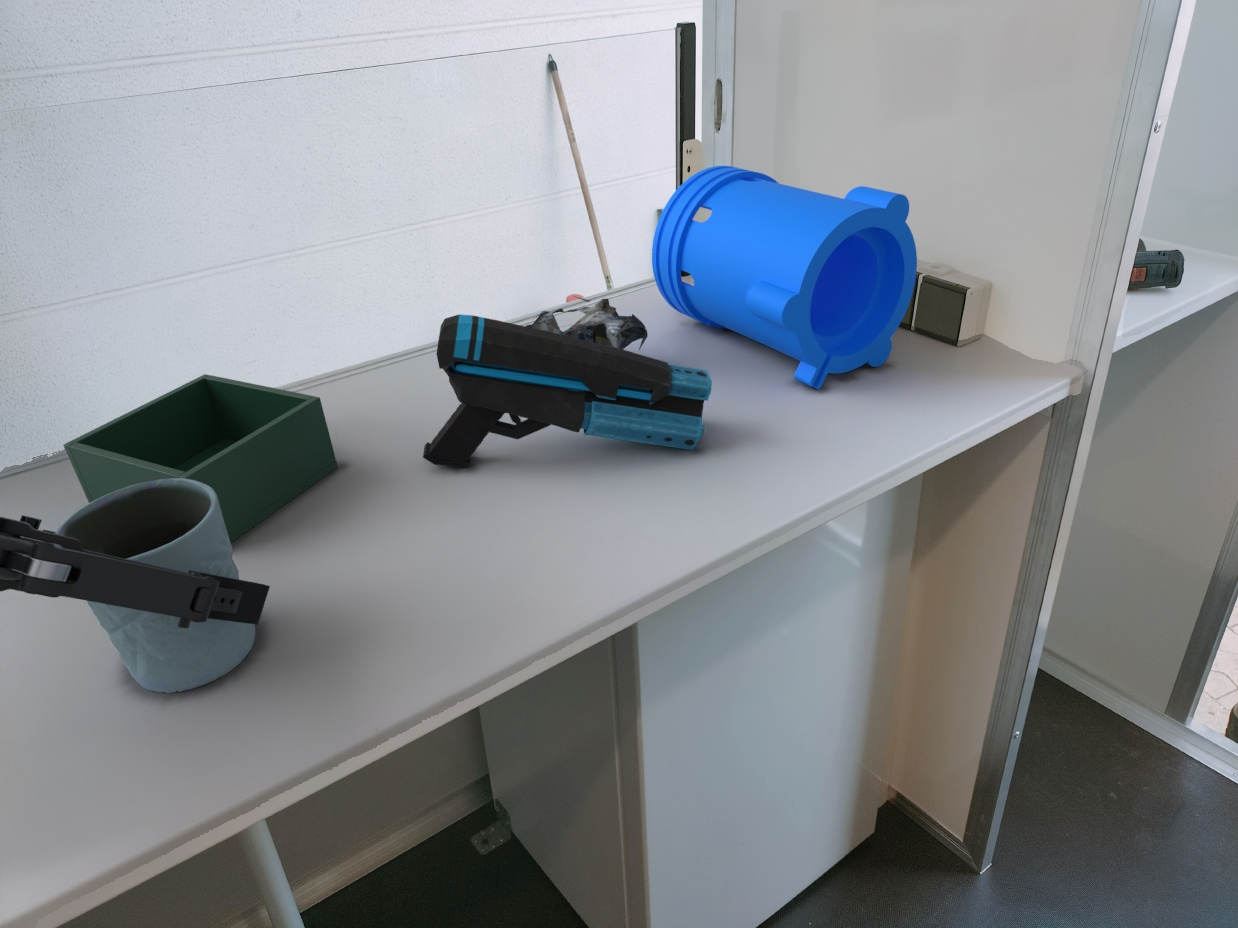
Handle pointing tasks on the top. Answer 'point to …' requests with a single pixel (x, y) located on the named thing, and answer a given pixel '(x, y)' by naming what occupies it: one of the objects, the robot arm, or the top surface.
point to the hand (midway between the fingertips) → (188, 583)
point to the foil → (597, 325)
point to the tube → (789, 266)
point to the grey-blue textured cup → (175, 539)
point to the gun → (559, 389)
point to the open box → (213, 447)
